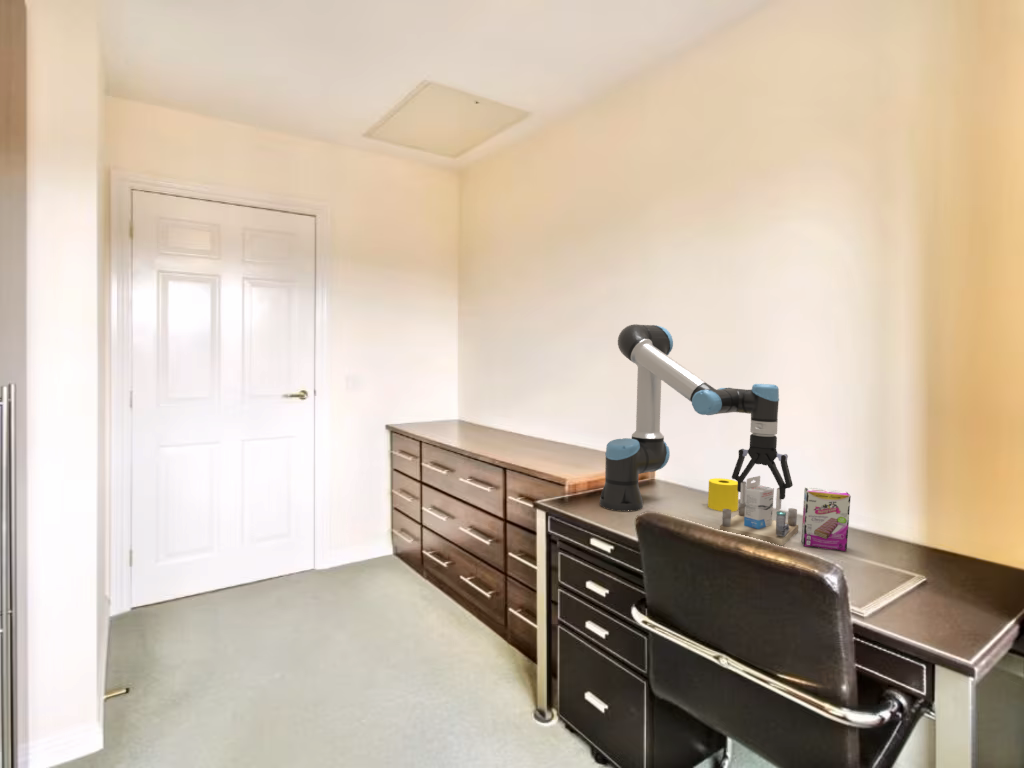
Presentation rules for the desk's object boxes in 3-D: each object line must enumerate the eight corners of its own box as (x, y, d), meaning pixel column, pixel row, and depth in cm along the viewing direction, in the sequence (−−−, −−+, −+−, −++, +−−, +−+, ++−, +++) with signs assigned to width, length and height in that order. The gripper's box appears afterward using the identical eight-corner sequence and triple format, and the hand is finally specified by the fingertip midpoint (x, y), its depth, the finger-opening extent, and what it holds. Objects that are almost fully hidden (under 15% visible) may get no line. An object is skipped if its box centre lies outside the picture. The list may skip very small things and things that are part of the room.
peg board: (719, 532, 172) (720, 509, 171) (739, 519, 186) (739, 498, 185) (782, 546, 160) (783, 522, 160) (798, 531, 174) (799, 509, 174)
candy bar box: (803, 547, 160) (806, 490, 159) (800, 541, 165) (803, 486, 164) (848, 552, 156) (851, 494, 155) (843, 546, 161) (847, 490, 160)
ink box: (758, 530, 168) (761, 482, 167) (743, 525, 172) (745, 478, 171) (772, 524, 174) (775, 478, 173) (757, 520, 178) (759, 475, 177)
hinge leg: (781, 527, 169) (782, 505, 169) (790, 529, 168) (791, 506, 167) (774, 535, 162) (775, 512, 161) (783, 537, 160) (785, 514, 160)
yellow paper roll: (738, 513, 193) (739, 486, 192) (708, 510, 196) (709, 483, 195) (736, 505, 202) (737, 479, 202) (707, 502, 205) (708, 477, 205)
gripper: (722, 431, 175) (719, 501, 177) (800, 440, 161) (796, 516, 162) (730, 429, 181) (727, 496, 183) (806, 437, 167) (803, 510, 168)
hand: (760, 505), depth 172 cm, fingers open, 10 cm apart
